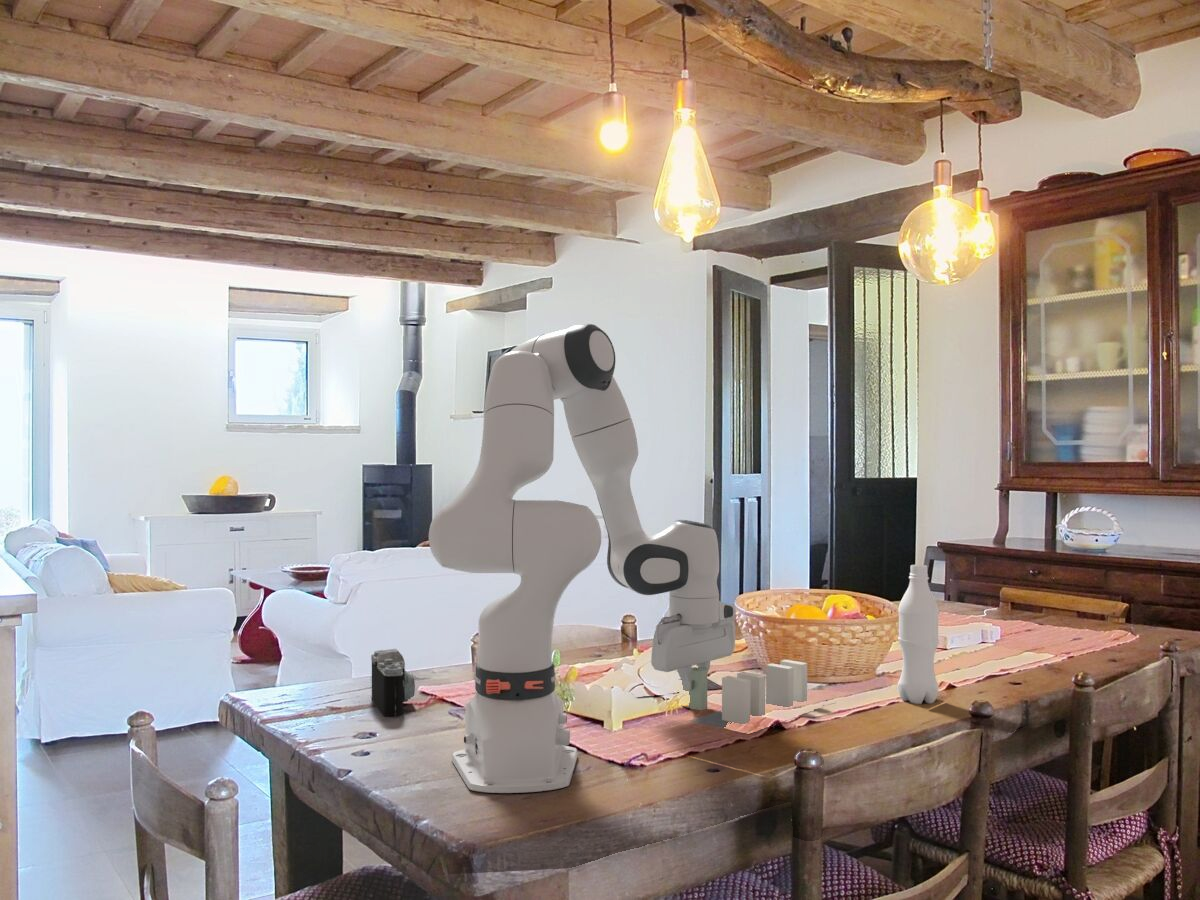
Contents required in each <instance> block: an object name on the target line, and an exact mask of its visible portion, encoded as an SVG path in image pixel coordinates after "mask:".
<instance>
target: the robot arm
mask: <svg viewBox="0 0 1200 900" xmlns="http://www.w3.org/2000/svg"><path fill="white" fill-rule="evenodd" d="M615 366H616V352H615V348H614V345H613V342H612V340H611V339H610V336H609V335H608V334H607V333H606V332H605V331H604V330H602V329H601V328H600V327H599V326H597V325H595V324H591V323H585V324H583V323H582V324H577V325H576V324H575V325H572V326H571V327H569V328H566V329H560V330H556V331H553V332H550V333H546V334H540V335H538V336H536V337H533V338H530V339H529V340H526V341H524V342H522V343H521V344H519V345H513V346H511V347H509V348H508V349H506V350H505V351H503V352H502V353H501V354H499V356H498V357H497V358H496V360H495V361H494V362H493V365H492V366H491V371H490V374H489V378H488V383H487V388H486V393H485V399H484V408H483V411H484V412H483V425H482V426H483V428H482V429H483V431H482V440H481V447H480V448H481V449H480V453H479V454H480V455H479V460H478V464H477V467H476V469H475V471H474V473H473V475H472V477H471V479H470V480H469V481H468V483H467V484H466V485H465V487H464V488H463V489H462V491H460V492H459V493H458V494H457V495H456V496H455V497H454V498H453V499H451V500H450V501H449V502H447V503H445V504H444V505H442V506H441V507H440V508H439V509H438V511H436V513H435V514H434V516H433V518H432V520H431V522H430V525H429V531H428V544H429V548H430V551H431V554H432V556H433V557H434V559H435V561H437V563H438V565H440V566H441V567H442V568H444V569H449V570H454V571H457V572H458V571H459V572H465V573H469V574H515V575H518V576H519V577H520V584H519V586H517V588H516V589H514V590H513V591H511V592H509V593H507V594H504V595H502V596H501V597H499V598H497V599H495V600H494V601H491V603H489V604H488V605H486V606H485V607H484V608H483V609H482V611H481V612H480V615H479V618H478V627H477V629H478V635H477V636H478V638H477V639H478V644H477V645H478V646H477V647H478V662H477V665H476V666H475V673H474V685H475V686H474V689H475V694H474V695H473V697H472V698H471V699H470V700H469V701H468V702H467V703H466V704H465V720H464V721H465V723H464V731H465V732H464V733H465V734H464V737H463V742H464V748H463V749H459V750H457V751H454V752H452V755H451V762H452V763H453V765H454V766H455V768H456V770H457V771H458V773H459V775H460V776H461V778H462V780H463V782H464V783H465V785H466V786H467V788H468V789H469V790H471V791H474V792H479V793H492V794H495V793H497V794H513V793H515V794H518V793H519V794H520V793H535V792H543V791H544V792H545V791H552V790H558V789H562V788H565V787H566V788H567V787H569V785H570V783H571V782H572V781H571V780H572V777H573V774H574V770H575V767H576V763H577V759H578V749H577V748H576V747H573V746H569V745H570V740H571V731H570V730H571V729H569V728H565V727H564V726H565V724H568V714H567V713H564V712H565V711H564V700H563V699H561V697H559V696H558V695H557V694H556V692H555V690H556V672H555V671H556V670H555V664H554V663H553V661H552V659H553V658H552V657H553V654H552V653H553V632H554V622H555V621H554V620H555V616H556V611H557V609H558V605H559V602H560V600H561V598H562V596H563V594H564V592H565V591H566V589H567V588H568V586H569V585H570V584H571V583H572V581H574V579H576V578H577V576H578V575H579V574H581V573H582V572H583V571H585V570H586V569H588V568H589V567H590V566H591V564H592V563H593V562H594V561H595V560H596V557H597V556H598V554H599V552H600V548H601V545H602V530H601V526H600V522H599V519H598V518H597V517H596V515H595V512H593V511H592V509H591V508H589V507H588V505H583V504H578V503H574V502H570V501H563V500H556V499H555V500H549V499H548V500H543V499H542V500H541V499H540V500H536V499H534V500H532V499H531V500H529V499H527V500H526V499H523V500H520V499H518V500H516V499H513V498H514V496H515V494H517V492H518V491H519V490H520V489H522V488H523V487H524V486H526V485H529V484H531V483H533V482H535V481H537V480H539V479H541V478H542V477H543V476H544V475H545V474H546V473H547V472H548V471H549V470H550V469H551V466H552V464H553V462H554V451H555V449H554V445H555V444H554V442H555V440H554V439H555V438H554V437H555V401H554V400H558V399H559V400H560V401H561V402H562V404H563V410H564V415H565V419H566V423H567V427H568V430H569V433H570V434H569V435H570V439H571V441H572V443H573V447H574V448H575V451H576V453H577V456H578V459H579V461H580V462H581V465H582V467H583V468H584V471H585V472H586V475H587V476H588V479H589V481H590V482H591V485H592V487H593V489H594V491H595V493H596V497H597V501H598V504H599V508H600V510H601V511H600V512H601V515H602V518H603V520H604V525H605V529H606V531H607V537H608V539H607V540H608V545H607V556H606V564H607V569H608V573H609V574H610V576H611V578H612V580H613V581H615V583H617V584H618V585H619V586H621V587H624V588H626V589H629V590H631V591H633V592H635V593H637V594H639V595H643V596H655V595H659V594H665V593H669V598H668V600H669V601H668V602H669V608H668V609H669V611H668V612H669V614H668V615H669V616H663V617H661V618H660V620H659V621H658V623H657V624H656V626H655V631H654V633H653V638H652V644H651V645H652V646H651V647H652V648H651V657H650V658H651V659H650V660H651V661H650V662H651V666H652V667H653V669H654V670H655V671H660V672H664V673H670V672H674V671H677V673H678V676H679V678H680V680H682V685H683V690H685V691H690V690H693V689H694V688H695V686H694V684H695V680H692V679H691V676H690V673H689V672H691V671H692V667H694V666H696V667H697V668H701V669H706V670H707V674H708V673H709V671H710V668H711V661H714V660H715V661H716V660H719V659H724V658H726V657H731V656H732V655H733V653H734V651H735V647H736V623H735V621H734V618H735V617H736V613H737V611H736V610H737V609H736V606H735V605H732V604H730V603H727V602H723V601H721V600H720V593H719V592H720V591H719V588H718V576H719V573H720V554H719V553H720V552H719V542H718V537H717V536H718V535H717V533H716V531H715V529H714V528H713V527H712V526H711V525H708V524H706V523H702V522H699V521H698V522H697V521H693V520H689V519H677V520H674V522H673V523H672V524H671V525H669V526H668V527H666V528H665V529H663V530H661V531H659V532H657V533H655V534H653V535H650V536H649V535H647V533H646V532H645V530H644V529H643V527H642V524H641V522H640V516H639V513H638V511H637V507H636V504H635V500H634V497H633V493H632V487H631V476H632V471H633V469H634V466H635V465H636V462H637V460H638V456H639V448H638V447H639V446H638V438H637V433H636V430H635V426H634V423H633V419H632V416H631V414H630V410H629V407H628V405H627V402H626V400H625V397H624V395H623V393H622V390H621V388H620V387H619V385H618V382H617V380H616V379H615V377H614V376H613V375H614V372H615V368H616V367H615Z"/></svg>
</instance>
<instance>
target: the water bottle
mask: <svg viewBox="0 0 1200 900" xmlns="http://www.w3.org/2000/svg"><path fill="white" fill-rule="evenodd" d="M909 568H910V572H909V576H908V579H909V583H908V587H907V589H906V590H905V592H904V594H903V596H902V598H901V600H900V601H899V604H898V610H897V611H898V637H897V641H898V644H899V646H900V649H901V653H902V654H901V656H902V667H901V668H902V669H901V674H900V678H899V680H898V681H897V690H898V693H899V697H900V699H901V700H902V701H905V702H907V701H909V702H910V704H916V705H922V703H923V701H924V702H925V704H926V703H927V704H933V703H934V702H936V699H937V697H938V694H939V683H938V681H937V678H936V673H935V662H934V661H935V654H936V651H937V648H938V647H939V644H940V640H939V615H940V608H939V606H938V603H937V601H936V598H935V596H934V595H933V593H932V591H931V589H930V585H929V579H930V577H929V574H928V565H925V564H911V565H910V567H909Z"/></svg>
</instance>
